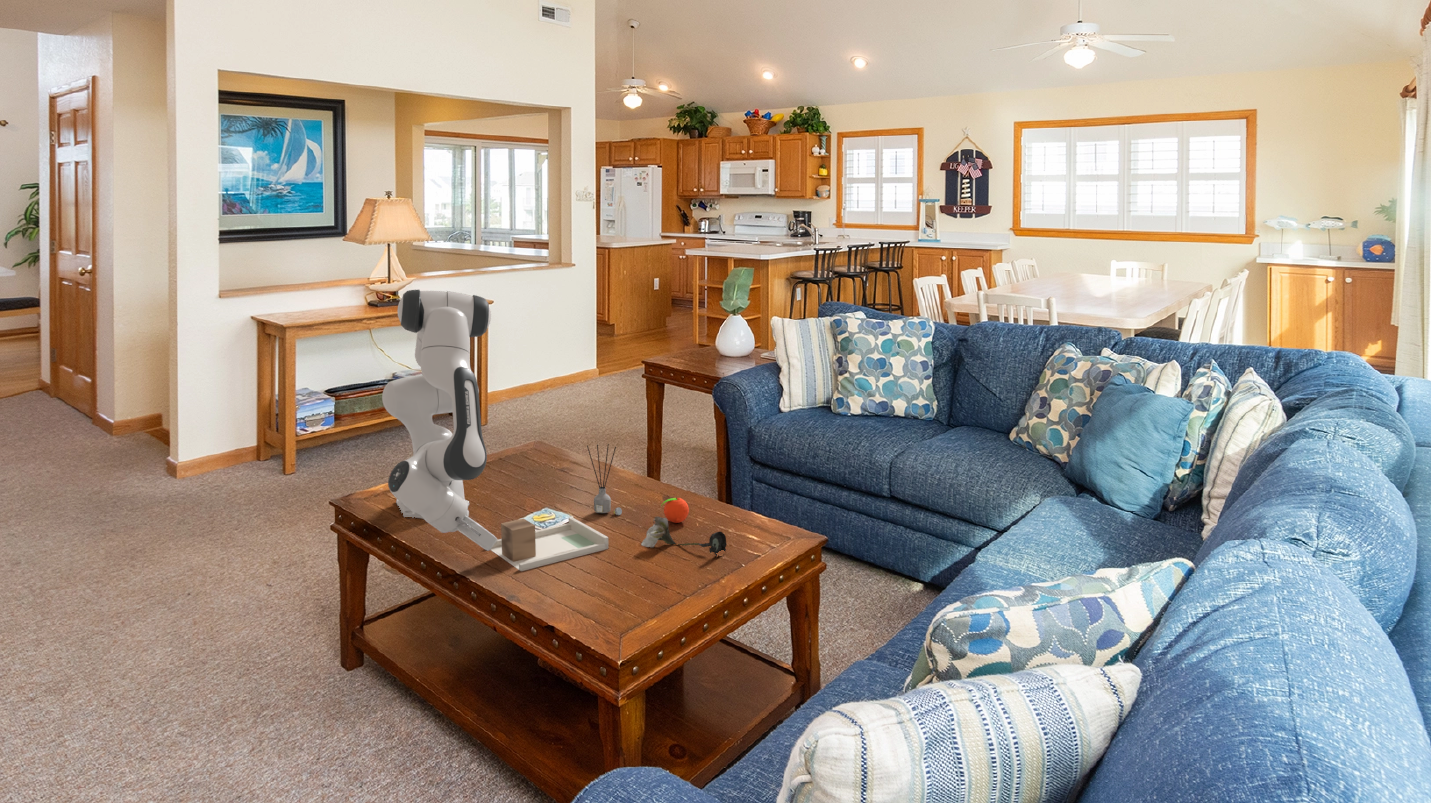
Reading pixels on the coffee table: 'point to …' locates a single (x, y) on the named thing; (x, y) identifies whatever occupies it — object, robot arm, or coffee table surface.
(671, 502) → the clementine
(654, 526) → the artificial flower
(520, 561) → the white rimmed tray
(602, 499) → the reed diffuser
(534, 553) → the walnut block
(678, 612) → the coffee table surface
